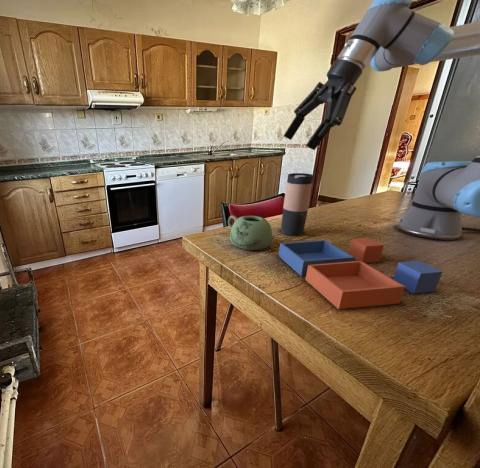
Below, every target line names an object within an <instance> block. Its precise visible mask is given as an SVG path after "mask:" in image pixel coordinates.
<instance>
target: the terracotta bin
mask: <svg viewBox="0 0 480 468" xmlns="http://www.w3.org/2000/svg"><path fill="white" fill-rule="evenodd" d="M393 279H394V278H391V277H390V276H388V275H386V274H385V273H383V272H381V271H380V270H378V269H376V268H374V267H372V266H371V265H369V264H368V263H364V262H362V261H357V260H354V261H351V262H339V263H326V264H314V265H308V269H307V274H306V276H305V281H306V282H307V283H308V284H309V285H311V286H312V287H313V288H314V289H315V290H316V291H317V292H318V293H319V294H320V295H322V296H323V297H324V298H325V299H327V301H329V302H330V303H331V304H332V305H333V306H334V307H335V308H336V309H337V310H345V309H354V308H355V309H356V308H366V307H377V306H378V307H379V306H388V305H397V304H400V303H401V300H402V298H403V294H404V292H405V290H406V289H405V286H404V285H402V284H400V283H398V282H397V281H395V280H393Z"/></svg>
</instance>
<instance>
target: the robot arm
mask: <svg viewBox="0 0 480 468" xmlns="http://www.w3.org/2000/svg"><path fill="white" fill-rule="evenodd" d="M412 2H413V0H373V2H372V3H371V4H370V5H369V7H368V9H367V10H366V11H365V13H364V15H362V18H361V19H360V21H359V22H358V24H357V26H356V27H355V29H354V31H353V32H352V34H351V35H350V36H349V38H348V41H346V42H345V44H344V46H343V47H342V50H341V51H340V53H339V54H338V56H337V59H336V60H334V61H333V63H332V65H331V66H330V68H329V69H328V71H327V72H326V77H327V80H326V81H325V83H322V82H321V81H319V82H317V84H316V85H315V87H314V88H313V90H312V91H311V92H310V93H309V94H308V95H307V96H306V97H305V98H304V99H303V100H302V101H301V103H300V104H299V105H298V106H297V107H296V108H295V109H294V110H293V113H294V114H295V117H294V118H293V120H292V122H291V123H290V125H289V126H288V127H287V129H286V131H285V133H284V134H283V137H284V138H286V139H288V140H290V141H291V140H292V139H293V138H294V136H295V135H296V133H297V131H298V130H299V128H300V127H301V125H302V124H303V122H304V121H305V120H306V116H308V115H309V114H311V113H312V112H313V111H314V110H315V109H316V108H317V107H319V106H320V105H324V104H327V106H326V111H325V118H324V119H323V120H322V122H320V124H319V125H318V127H317V128H316V130H315V131H314V132H313V134H312V136H311V137H310V139H309V140H308V141H307V143H306V144H305V147H307V148H309V149H311V150H314V151H316V149H317V147H318V146H319V144H320V143H321V142H322V141H323V139H325V137H326V136H327V135H328V133H329V131H330V130H331V129H332V128H334V127H335V126H337V127H339V126H341V125H342V124H343V120H344V117H345V116H346V112H347V110H348V107H349V105H350V102H351V99H352V98H353V96H354V94H355V92H356V91H357V87H356V86H355V84H356V83H357V81H358V80H359V78H360V77H361V76H362V74H363V71H364V70H365V69H367V67H368V66H369V64H370V68H371V69H372V70H374V71H375V72H382V73H383V72H388V71H390V70H392V69H398V68H403V67H404V68H405V67H409V66H414V65H419V66H425V65H427V64H430V63H432V62H433V63H434V62H442V61H447V60H455V59H461V58H467V57H468V58H469V57H475V56H480V21H475V22H470V23H464V24H458V25H453V26H447V25H445V24H444V23H443V22H439V21H437V20H434V19H433V18H430V17H427V16H425V15H423V14H420V13H418V12H416V11H413V9H411V8H410V7H411V4H412ZM462 214H464V215H466V216H472V217H475V218H479V219H480V155H477V156H475V157H474V158H473V159H472V161H471V160H470V161H469V160H466V161H465V160H463V161H461V160H460V161H430V162H427V163H426V164H425V165H424V166H423V168H422V170H421V172H420V177H419V179H418V183H417V186H416V189H415V193H414V196H413V200H412V202H411V205H410V207H409V208H408V210H407V211H406V212H405V214H404V215H402V217H401V218H400V219H399V222H398V224H397V229H398V230H399V231H401V232H403V233H405V234H408V235H411V236H414V237H417V238H423V239H429V240H437V241H456V240H459V239H460V238H461V236H462V234H463V231H467V232H475V233H478V232H479V233H480V228H475V227H467V226H466V227H465V226H462Z"/></svg>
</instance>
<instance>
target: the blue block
mask: <svg viewBox="0 0 480 468" xmlns="http://www.w3.org/2000/svg"><path fill="white" fill-rule="evenodd" d="M442 275H443V271H442V270H440V269H438V268H436V267H434V266H431V265H430V264H426V263H425V262H422V261H420V260H411V261H399V262H398V264H397V267H396V270H395V273H394V276H393V278H392V279H393V280H395V281H397V282H398V283H400V284H402V285H404V286H405V289H404V290H406V291H408V292H410V293H411V294H424V293H434V292H436V289H437V287H438V285H439V282H440V280H441V277H442Z"/></svg>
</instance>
